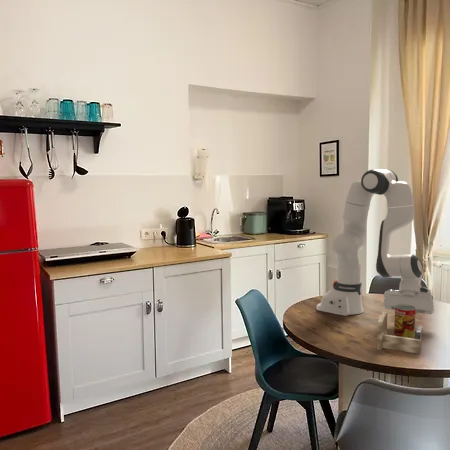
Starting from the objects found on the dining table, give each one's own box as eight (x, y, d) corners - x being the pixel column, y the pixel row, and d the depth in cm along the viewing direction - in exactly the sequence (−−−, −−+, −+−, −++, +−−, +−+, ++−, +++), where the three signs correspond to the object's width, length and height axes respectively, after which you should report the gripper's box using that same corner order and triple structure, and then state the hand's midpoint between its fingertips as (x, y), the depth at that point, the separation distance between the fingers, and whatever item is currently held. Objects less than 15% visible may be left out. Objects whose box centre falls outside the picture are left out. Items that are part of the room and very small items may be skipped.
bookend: (415, 349, 165) (416, 331, 165) (417, 342, 172) (418, 325, 172) (419, 350, 165) (420, 332, 164) (421, 343, 172) (422, 325, 171)
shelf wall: (376, 349, 166) (377, 321, 165) (382, 337, 178) (383, 311, 177) (418, 356, 159) (419, 327, 158) (421, 343, 171) (422, 316, 170)
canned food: (390, 332, 184) (391, 304, 182) (408, 331, 185) (409, 303, 183) (400, 339, 176) (400, 310, 175) (418, 338, 177) (419, 309, 175)
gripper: (384, 285, 197) (380, 312, 189) (434, 290, 187) (432, 319, 179) (385, 292, 201) (381, 319, 193) (434, 297, 191) (432, 326, 184)
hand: (406, 319), depth 186 cm, fingers closed
